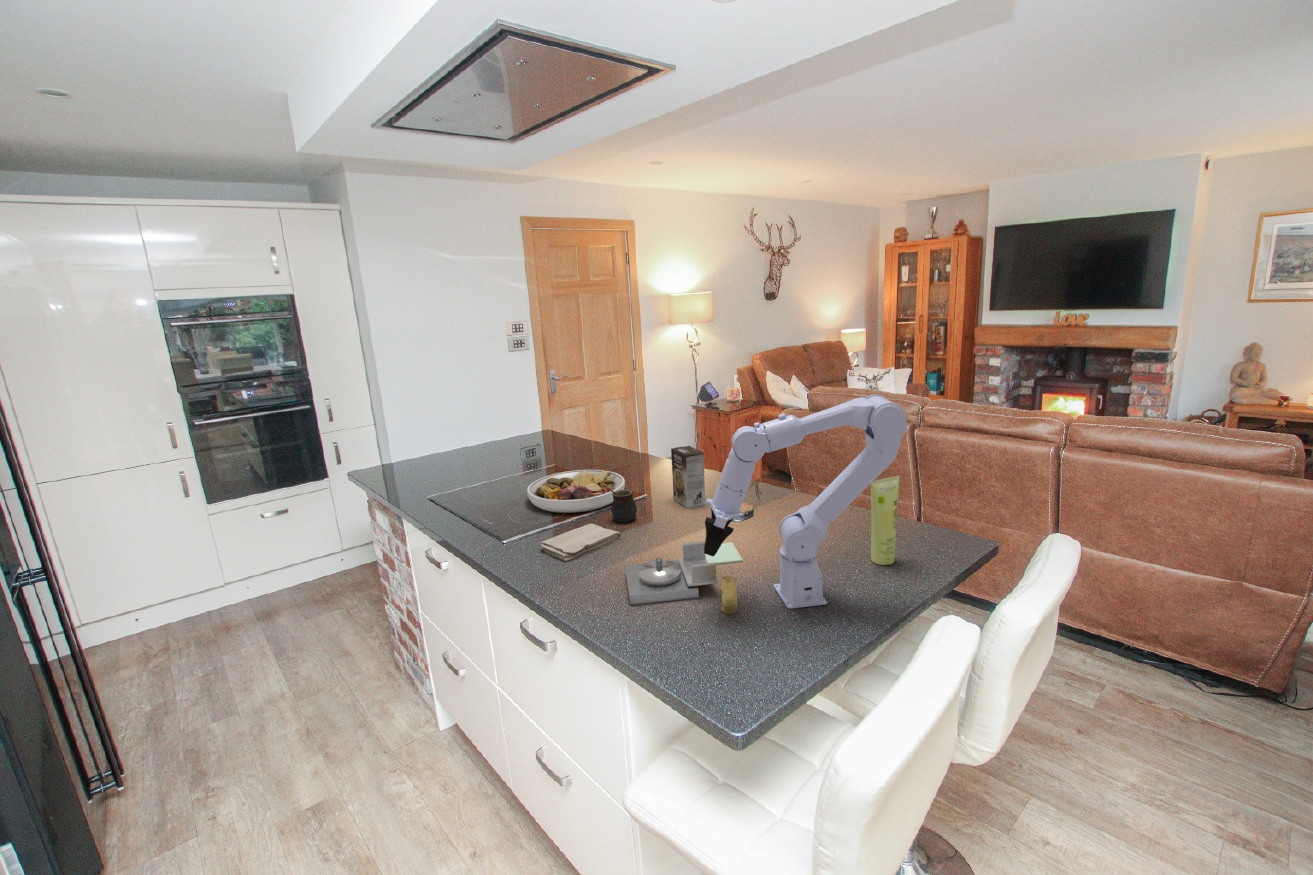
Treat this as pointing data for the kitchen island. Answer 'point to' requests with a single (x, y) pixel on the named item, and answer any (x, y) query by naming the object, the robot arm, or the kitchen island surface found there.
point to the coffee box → (688, 476)
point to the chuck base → (656, 588)
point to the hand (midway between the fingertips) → (711, 547)
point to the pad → (725, 555)
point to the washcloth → (579, 542)
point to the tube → (884, 519)
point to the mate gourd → (623, 506)
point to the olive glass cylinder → (729, 594)
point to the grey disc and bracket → (670, 572)
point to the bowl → (575, 490)
